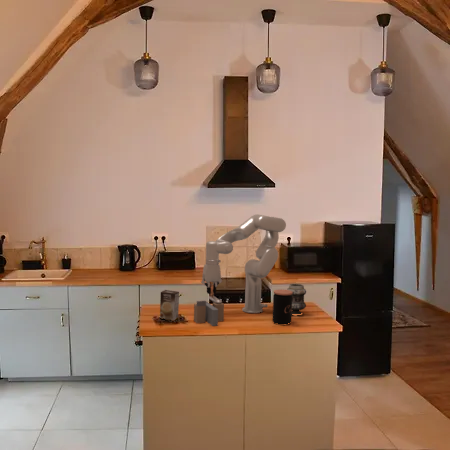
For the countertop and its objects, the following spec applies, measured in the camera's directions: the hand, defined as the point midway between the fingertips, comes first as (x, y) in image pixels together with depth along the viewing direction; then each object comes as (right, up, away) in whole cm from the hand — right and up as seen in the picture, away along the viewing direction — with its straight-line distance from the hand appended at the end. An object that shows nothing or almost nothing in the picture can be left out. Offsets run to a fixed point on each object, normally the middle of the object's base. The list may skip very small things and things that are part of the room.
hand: (211, 293), depth 298 cm
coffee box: (-24, -14, -10) cm, 29 cm away
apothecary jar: (+50, -14, +9) cm, 53 cm away
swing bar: (+2, -4, -5) cm, 6 cm away
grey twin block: (-1, -14, -11) cm, 18 cm away
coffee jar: (+40, -16, -10) cm, 44 cm away
